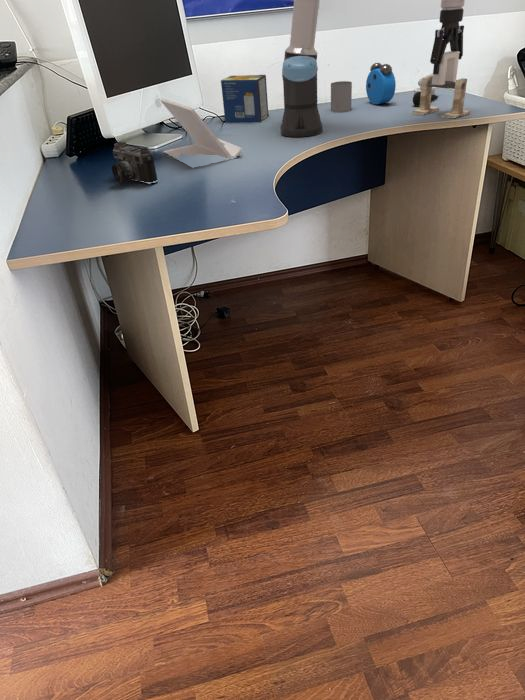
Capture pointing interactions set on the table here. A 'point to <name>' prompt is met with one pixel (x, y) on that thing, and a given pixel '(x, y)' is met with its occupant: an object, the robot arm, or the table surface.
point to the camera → (133, 163)
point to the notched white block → (449, 66)
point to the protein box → (245, 98)
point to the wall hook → (421, 84)
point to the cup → (341, 96)
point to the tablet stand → (198, 134)
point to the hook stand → (427, 87)
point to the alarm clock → (380, 84)
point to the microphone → (417, 98)
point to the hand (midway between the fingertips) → (444, 82)
